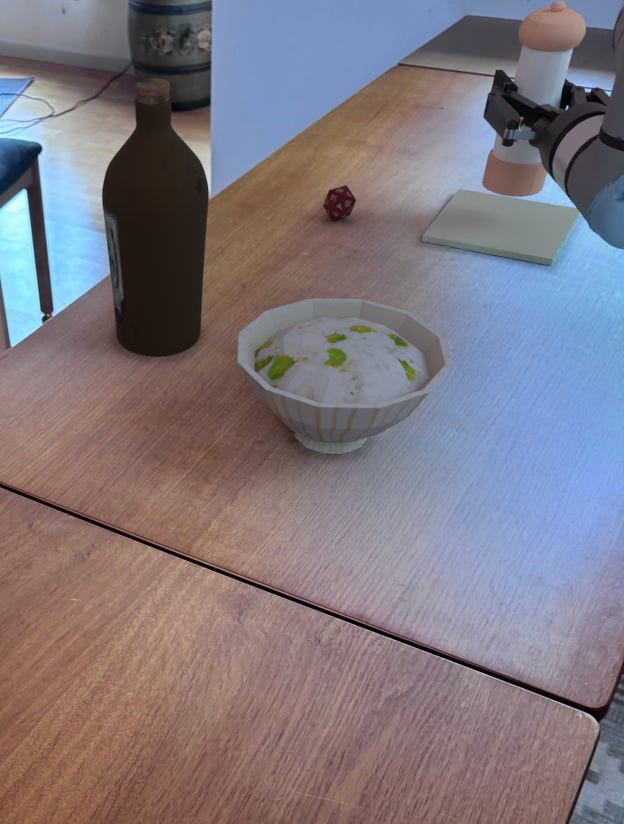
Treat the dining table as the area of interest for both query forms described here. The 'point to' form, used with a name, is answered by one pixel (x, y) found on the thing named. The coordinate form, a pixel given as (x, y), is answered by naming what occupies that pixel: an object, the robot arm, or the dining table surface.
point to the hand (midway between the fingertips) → (522, 81)
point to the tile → (503, 226)
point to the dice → (339, 203)
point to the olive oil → (156, 230)
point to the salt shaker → (535, 94)
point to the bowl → (341, 368)
